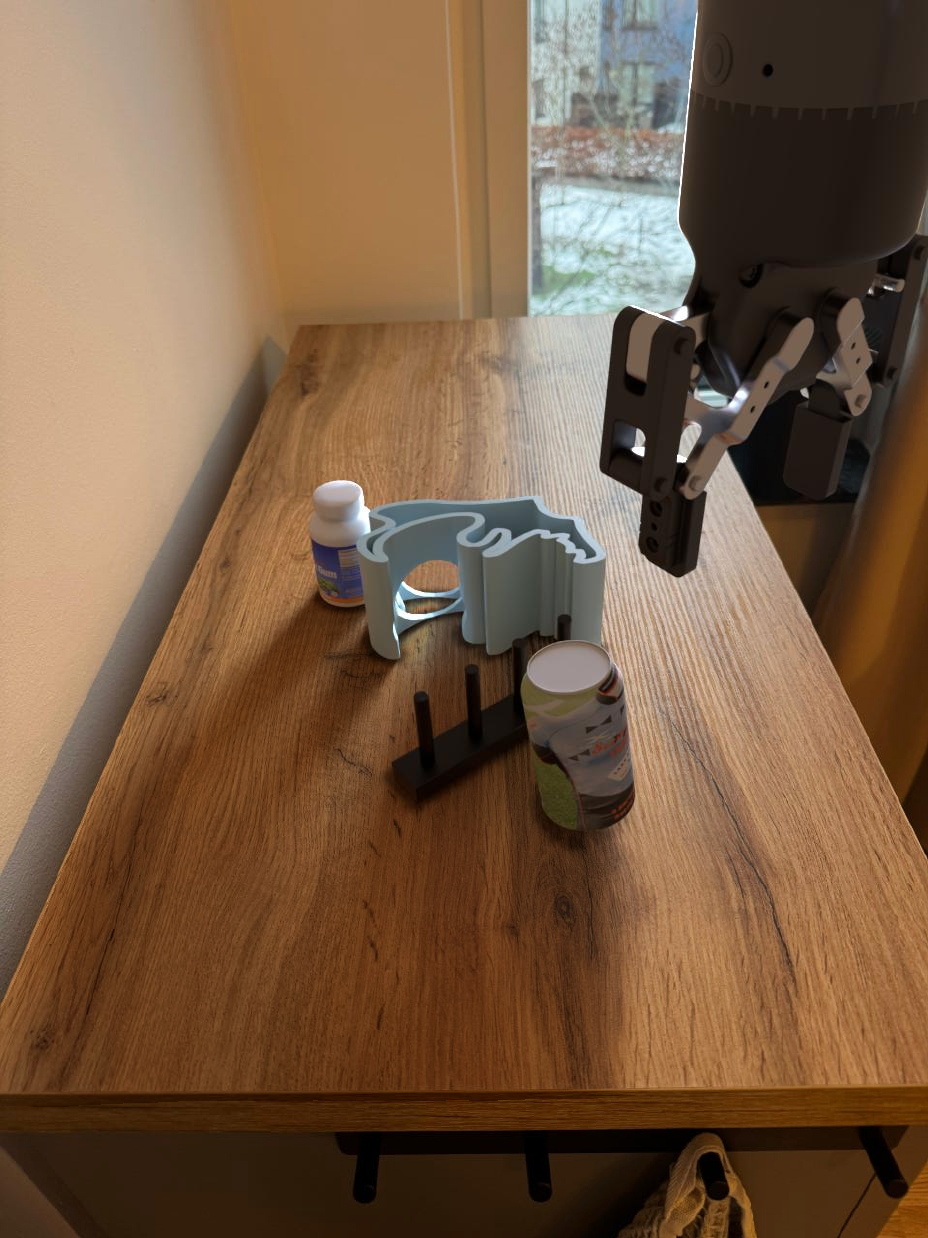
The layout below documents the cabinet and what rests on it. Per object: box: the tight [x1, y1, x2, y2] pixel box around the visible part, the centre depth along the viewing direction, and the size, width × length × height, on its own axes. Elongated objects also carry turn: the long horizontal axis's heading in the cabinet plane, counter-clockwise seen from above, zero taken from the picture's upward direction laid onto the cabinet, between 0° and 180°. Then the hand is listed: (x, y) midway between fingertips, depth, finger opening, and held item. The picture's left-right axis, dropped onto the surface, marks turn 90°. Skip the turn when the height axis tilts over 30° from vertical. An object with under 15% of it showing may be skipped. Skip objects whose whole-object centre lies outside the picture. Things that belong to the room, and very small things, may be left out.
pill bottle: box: [307, 480, 371, 608], centre depth 76 cm, size 5×5×10 cm
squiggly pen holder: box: [356, 495, 607, 660], centre depth 71 cm, size 18×10×9 cm, turn 92°
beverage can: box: [521, 640, 636, 832], centre depth 56 cm, size 6×7×12 cm
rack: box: [390, 614, 572, 804], centre depth 63 cm, size 3×16×8 cm, turn 127°
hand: (741, 526), depth 38 cm, fingers open, 8 cm apart
